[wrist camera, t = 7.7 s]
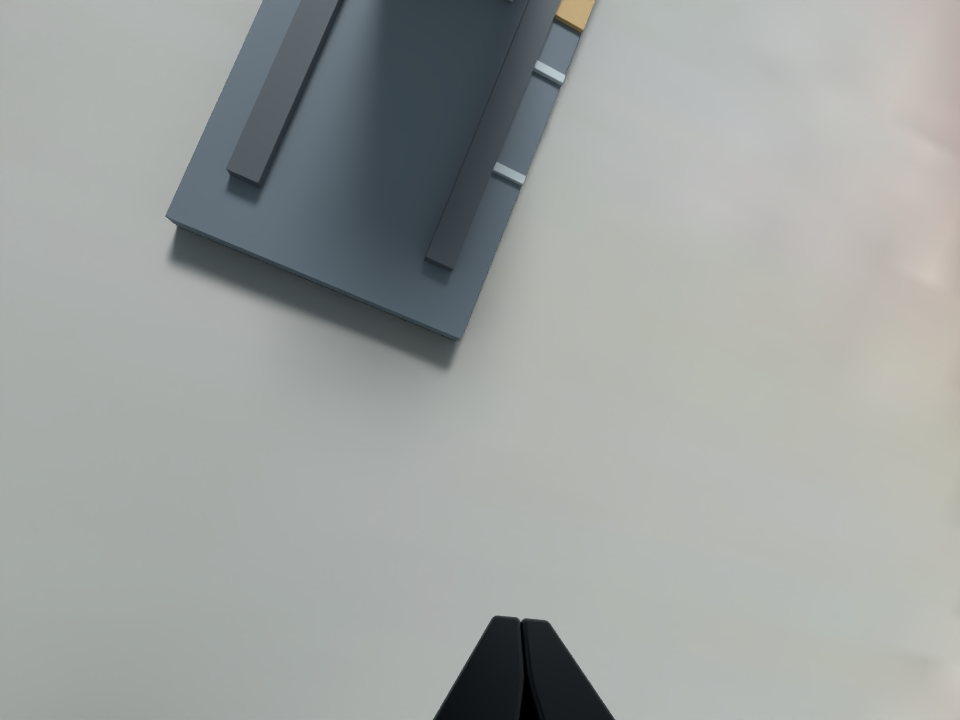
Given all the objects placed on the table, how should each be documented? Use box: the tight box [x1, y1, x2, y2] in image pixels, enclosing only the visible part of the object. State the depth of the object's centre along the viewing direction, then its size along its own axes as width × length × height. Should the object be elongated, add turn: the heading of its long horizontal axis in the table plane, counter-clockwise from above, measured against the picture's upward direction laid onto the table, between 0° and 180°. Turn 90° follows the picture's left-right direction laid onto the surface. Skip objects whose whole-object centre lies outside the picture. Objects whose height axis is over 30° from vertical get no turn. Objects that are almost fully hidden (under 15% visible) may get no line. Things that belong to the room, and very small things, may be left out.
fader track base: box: [166, 0, 595, 340], centre depth 19 cm, size 20×10×3 cm, turn 158°
